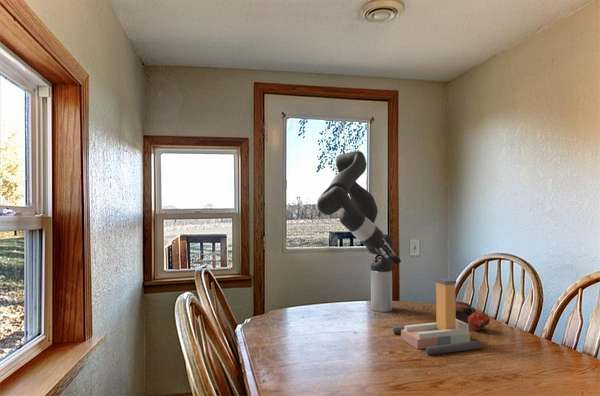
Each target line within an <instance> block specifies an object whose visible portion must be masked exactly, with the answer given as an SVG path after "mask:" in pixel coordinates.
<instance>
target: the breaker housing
mask: <svg viewBox="0 0 600 396" xmlns="http://www.w3.org/2000/svg"><path fill="white" fill-rule="evenodd" d="M403 326H404V330H401V333H400V340H403V341H404V342H406V343H407V344H409V345H410V346H412V347H414V348H415V349H416V350H421V349H426V348H427V347H429V346H437V345H446V344H454V343H462V342H471V339H470V338H471V333H469V331H470V328H469V327H470V326H469V323H467V322H465V323H464V322H462V321H460V320H457V319H456V328H455V329H446V330H440V329H438V328H436V322H428V323H427V322H426V323H419V324H410V325H403Z"/></svg>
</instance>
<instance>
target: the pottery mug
mask: <svg viewBox="0 0 600 396" xmlns="http://www.w3.org/2000/svg"><path fill="white" fill-rule="evenodd" d="M469 311H471V312H473V313H475V312H476V311H477V310H476V308H474V307H472V306H471V305H470V304H469V303H467V302H464V301H456V319H457V320H460V321H462V322H464V323H467V322H466V321H468V318H469V317H470V315H471V313H470V312H469Z"/></svg>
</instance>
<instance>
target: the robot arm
mask: <svg viewBox="0 0 600 396" xmlns="http://www.w3.org/2000/svg"><path fill="white" fill-rule="evenodd" d="M335 165H336V168H337V171H338V173H337V174H335V176H334V177H333V179H332V181H331V182H330V183H329V186H328V187H327V188H326V189H325V190H324V191H323V192H322V193H321V194H320V195H319V197H318V199H317V202H316V205H317V208H318V211H319V212H320V213H321V214H323V215H325V216H331V215H333V214H336V213H337V212H338V211H339V210H342V209H343V211H342V212H341V213H340V215H339V222H340V224H341V225H343V226H344V227H345V228H346V229H347V230H348V231H349V232H351V234H352V236H354V237H355V238H356V239H357V240H358V241H359V242H360V243H361V244H363V245H364V246H365V247H366V248H367V251H368V252H369V253H370V254H372V255H378V256H381V259H380V260H378V261H375V262H372V263H371V264H370V309H371V310H372V311H375V312H379V313H380V312H381V313H382V312H383V313H385V312H392V310H393V263H394V265H399V264H400V263H401V262H402V260H401V258H400V257H399V255H397V254H396V253H395V252H394V239H393V236H392V235H391V234H387V233H386V234H385V233H384V232H383V231H382V230H381V229H380V228H379V227H378V226H377V225H376V224H375V221H376V218H377V216H378V207H377V203H376V200H375V198H374V196H373V195H372V193H371V192H370V191H368V190H367V189H366V188H365V187H363V186H362V185H360V184H359V183H358V182H357V181H358V179H359V178H360V177H361V176H362V175H363V174H364V173H365V172H366V169H367V160H366V157H365V154H364V153H363V152H362V151H360V150H355V151H350V152H346V153H345V152H344V153H342V154H341V153H340V154H339V155H337V156H336V158H335Z"/></svg>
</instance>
